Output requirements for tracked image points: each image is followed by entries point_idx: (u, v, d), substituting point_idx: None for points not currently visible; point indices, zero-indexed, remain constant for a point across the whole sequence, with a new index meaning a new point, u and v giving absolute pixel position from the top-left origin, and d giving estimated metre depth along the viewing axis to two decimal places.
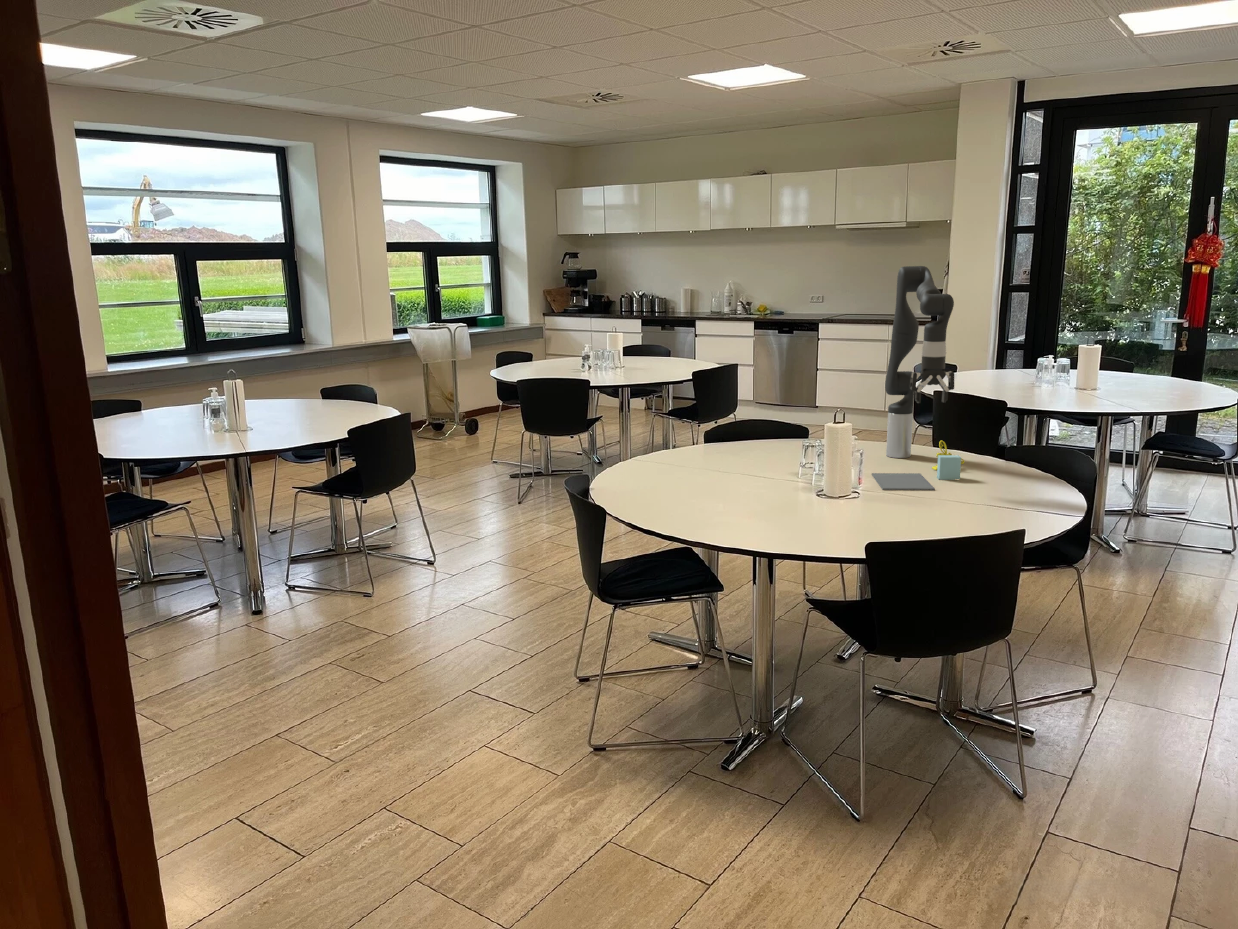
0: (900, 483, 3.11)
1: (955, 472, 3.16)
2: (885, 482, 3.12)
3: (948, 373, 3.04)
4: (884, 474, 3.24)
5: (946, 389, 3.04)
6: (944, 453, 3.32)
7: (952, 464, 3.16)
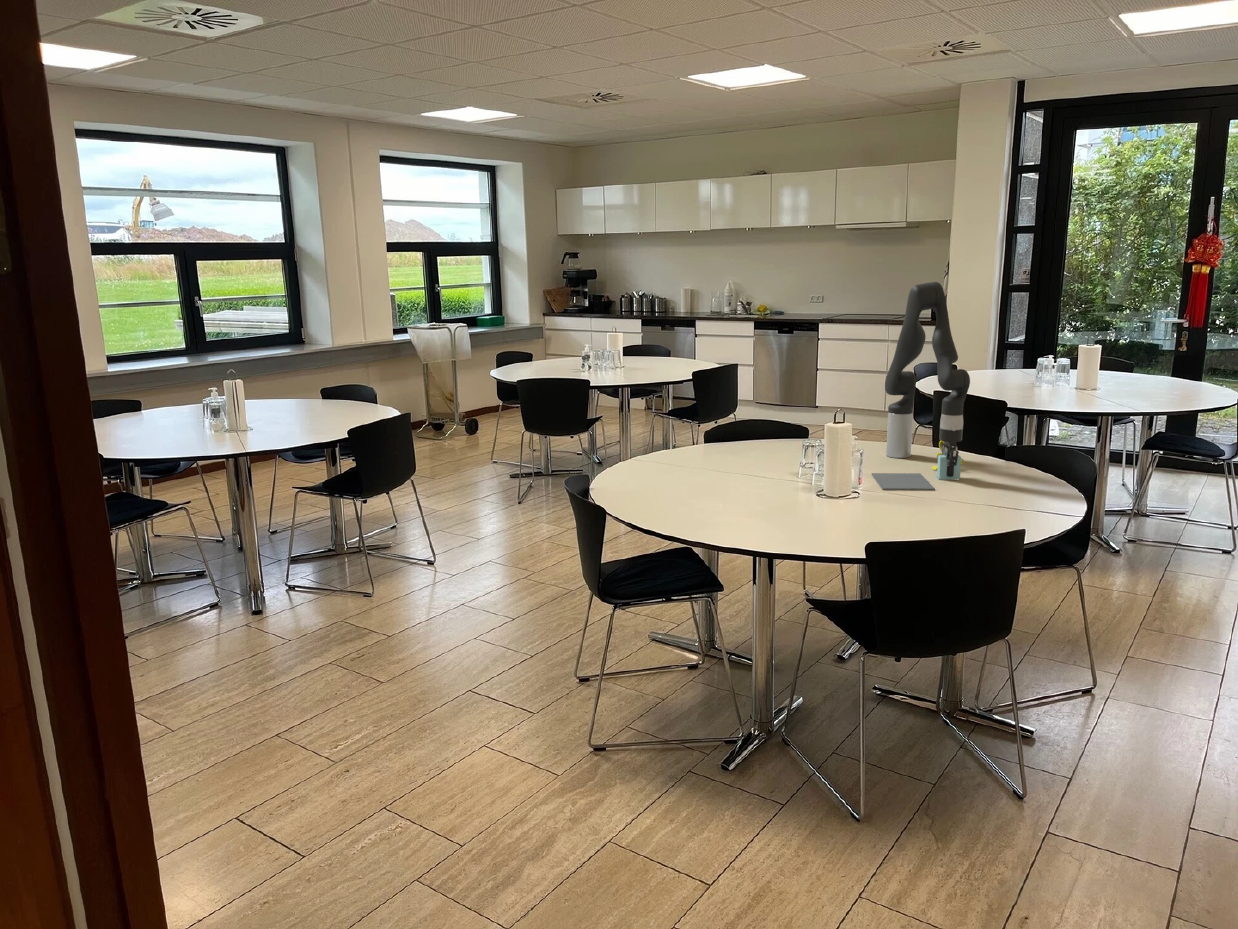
0: (900, 483, 3.11)
1: (955, 472, 3.16)
2: (885, 482, 3.12)
3: None
4: (884, 474, 3.24)
5: None
6: None
7: None
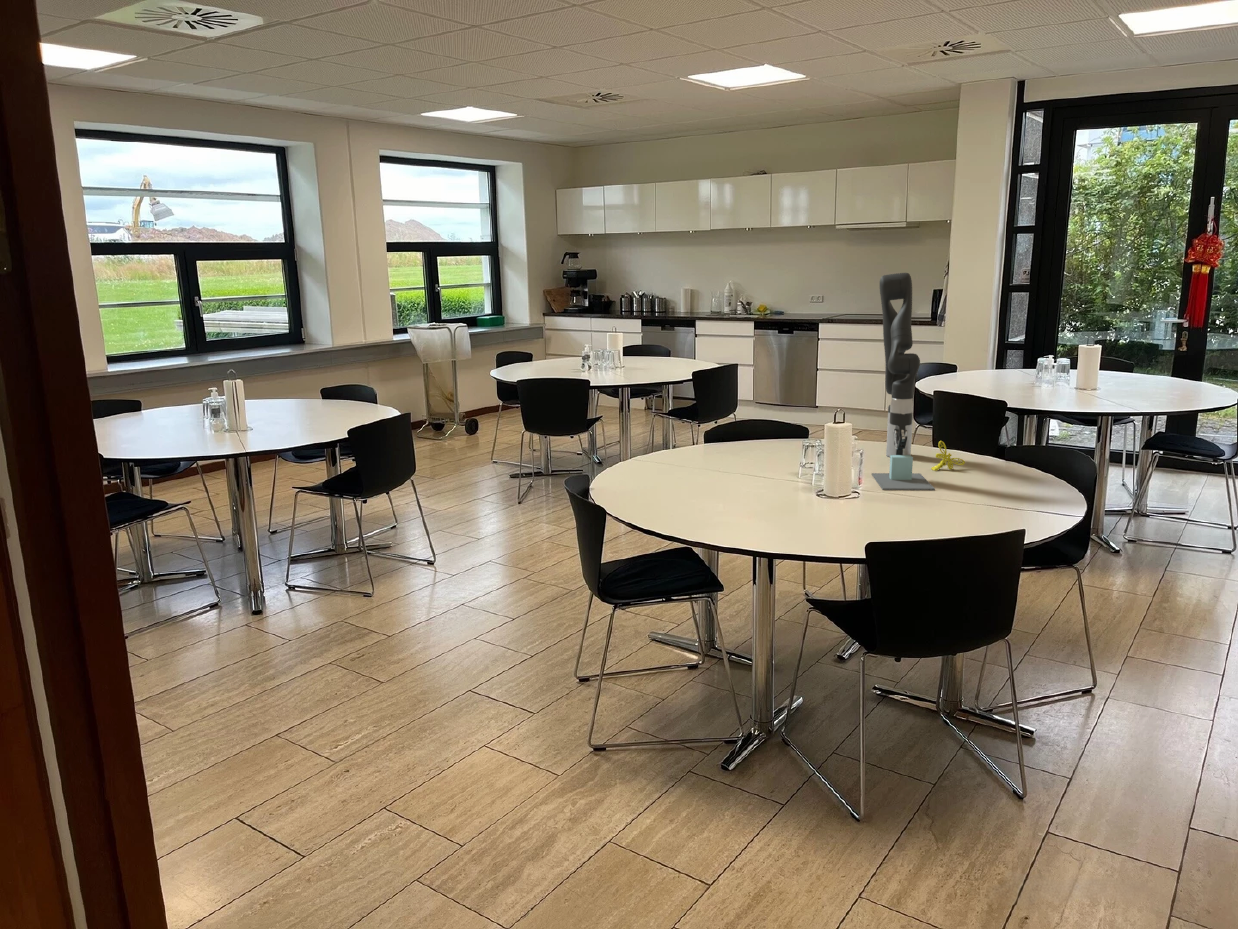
0: (900, 483, 3.11)
1: (907, 472, 3.15)
2: (885, 482, 3.12)
3: None
4: (884, 474, 3.24)
5: None
6: (944, 454, 3.31)
7: (904, 464, 3.14)
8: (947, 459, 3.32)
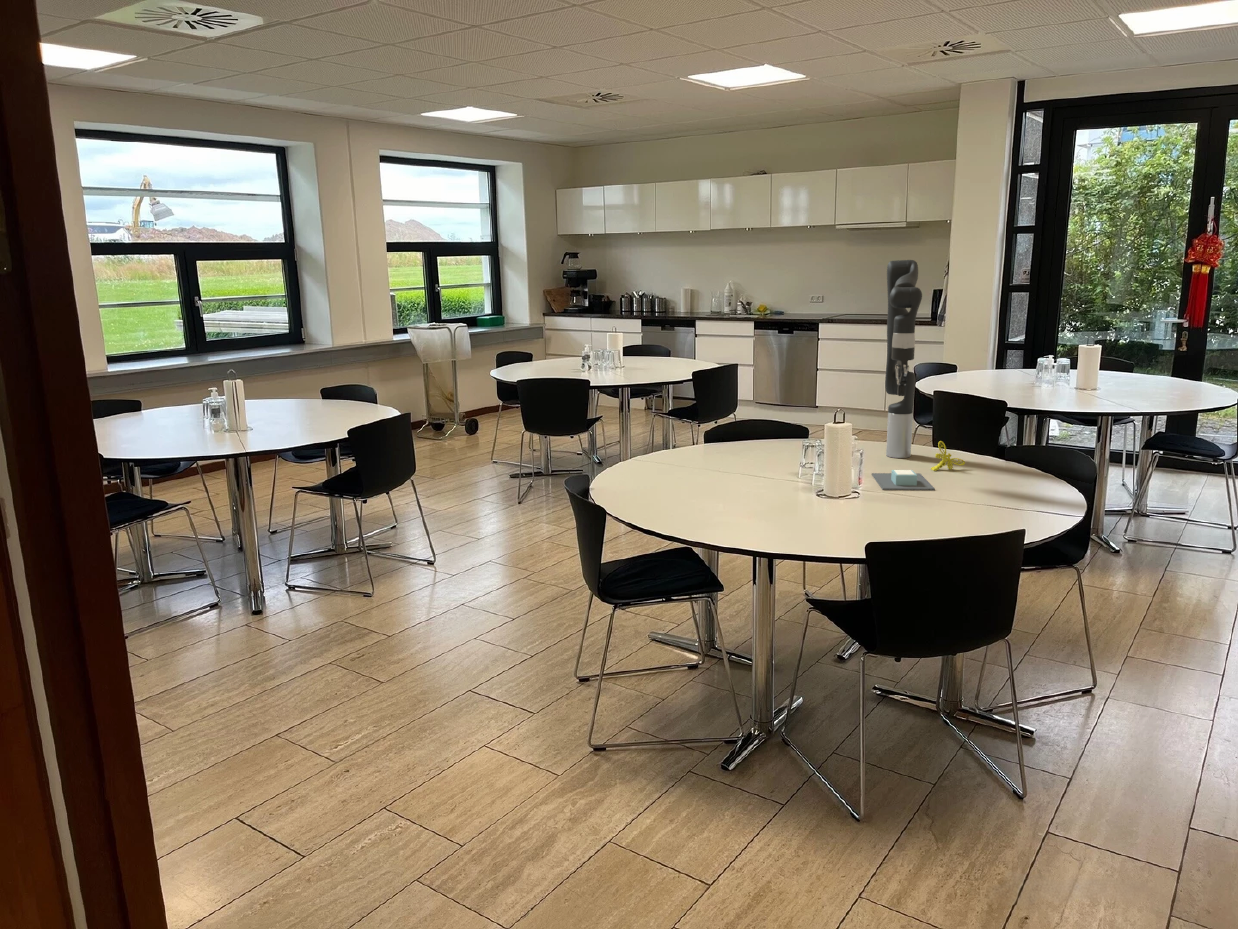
0: None
1: None
2: (885, 482, 3.12)
3: None
4: (884, 474, 3.24)
5: None
6: (943, 454, 3.31)
7: None
8: (947, 459, 3.31)
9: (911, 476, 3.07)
